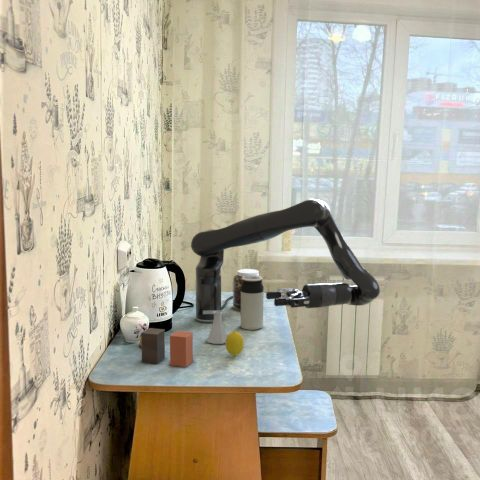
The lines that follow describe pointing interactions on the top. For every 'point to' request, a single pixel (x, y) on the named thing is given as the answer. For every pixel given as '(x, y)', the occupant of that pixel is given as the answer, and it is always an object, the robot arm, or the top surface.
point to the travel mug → (252, 302)
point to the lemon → (234, 343)
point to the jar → (237, 286)
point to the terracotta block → (181, 348)
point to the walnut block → (153, 345)
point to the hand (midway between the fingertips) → (270, 299)
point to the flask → (217, 330)
